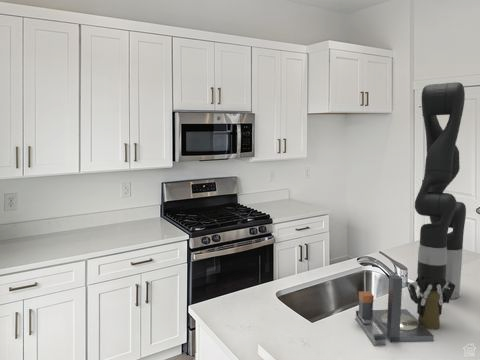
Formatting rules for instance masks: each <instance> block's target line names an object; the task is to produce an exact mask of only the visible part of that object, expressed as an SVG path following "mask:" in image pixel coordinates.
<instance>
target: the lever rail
mask: <svg viewBox="0 0 480 360" xmlns="http://www.w3.org/2000/svg"><path fill="white" fill-rule="evenodd" d="M358 312H359V309H358V310H355V320H356V321H357V323H358V325H359V326H360V327H361V328H362V330H363V331H364V333H365V334H366V335H367V338H369V340H370V341H371V343H372V345H374V346H386V343H387V337H386V335H385V334H384V333H381V332H380V331H379V330H378V328H377V327H376V326H375V324H374V323H373V324H364V323H363V322H362V320H361V319H360V317H359V316H358Z"/></svg>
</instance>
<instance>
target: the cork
mask: <svg viewBox="0 0 480 360" xmlns="http://www.w3.org/2000/svg"><path fill="white" fill-rule="evenodd" d="M421 293H422V294H424V293H423V292H422V291H421ZM425 300H426V302H425V312H424V316H423V317H421V316H420V315H419V314H418V319H417V320H418V321H419V322H420V323H421V324H422V325H423V326H424V327H425V328H426V329H427V330H433V331H434V330H438V329H440V328H441V323H440V322H441V321H440V317H439V309H438V301H439V300H440V294H439V293H437V291H430V293H429V294H428V295H427V298H426V299H425Z"/></svg>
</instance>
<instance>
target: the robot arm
mask: <svg viewBox="0 0 480 360" xmlns="http://www.w3.org/2000/svg"><path fill="white" fill-rule="evenodd" d="M464 87H465V86H464V85H463V83H461V82H458V81H457V82H456V81H455V82H446V83H445V82H444V83H435V84H434V83H433V84H427V85H425V86H424V87H423V89H422V92H421V109H422V116H423V123H424V130H425V139H426V141H425V142H426V158H425V165H424V174H423V179H422V184H421V186H420V188H419V191H418V192H417V196H416V197H415V200H414V209H415V211H416V213H417V214H418V215H420V216H424V217H429V220H430V223H424V224H422V225H421V227H420V233H419V235H420V236H419V247H418V252H417V272H416V273H417V278H416V279H415V281H412V282H409V281H408V282H407V283H406V288H407V290H408V294H409V297H410V300H411V301H412V302H414V304H416V305H417V306H416V307H417V310H416V312H417V314H418V316H419V315H420V316H421V317H423V316H424V312H425V302H426V300H425V299H426V298H427V295H428V294H429V293H430V291H437V293H439V294H440V300H439V301H438V309H439V318H441V317H440V316H441V315H442V313H443V311H442V310H443V305H444V304H445V303H447V304H448V303H450V300H453V299H459V298H460V293H461V292H460V291H461V281H462V279H461V277H462V267H463V266H462V265H463V264H462V263H463V248H464V245H463V244H464V234H465V233H464V232H465V224H466V218H467V217H466V216H467V207H466V204H465V203H464V202H463V201H457V198H456V197H455V196H454V195H453V194H452V193H448V192H445V190H446V189H447V187H448V186H449V185H450V184H451V183H452V182H453V181H454V180H455V178H456V177H457V176H458V174H459V172H460V169H461V168H460V167H461V166H460V150H459V148H458V146H457V144H456V143H457V140H458V136H459V131H460V126H461V123H462V122H461V121H462V117H463V112H464V107H465V100H466V99H465V98H466V94H465V88H464ZM447 115H448V121H447V123H446V126H445V127H444V128H442V126H441V124H440V122H439V119H438V117H437V116H447ZM449 229H452V231H450V232H449ZM417 287H418V288H419V289H418V288H417ZM417 290H418V292H417ZM421 291H422V292H423V293H424V294H422V293H421Z"/></svg>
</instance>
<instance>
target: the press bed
mask: <svg viewBox="0 0 480 360" xmlns="http://www.w3.org/2000/svg"><path fill="white" fill-rule="evenodd" d="M402 294H403V277H401V276H400V275H397V274H396V275H395V274H394V275H393V274H390V275H388V296H387V298H388V299H387V309H373V316H372V320H373V323H375V325H376V326H377V327H378V328H379V330H380V331H381V332H382V334H385V335H386V339H387V340H388V341H389V342H390V343H402V342H403V343H404V342H405V343H407V342H408V343H409V342H434V341H435V340H434V337H435V336H434V334H432V332H431V331H429V329H427V328H425V327H424V326H423V325H422V324H421V323H420V322H419V321H418V319H417V318H416V317H415V316H414V315H413V314H412V313H411V312H410V311H409V310H407V308H404V309H403V308H402Z"/></svg>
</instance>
